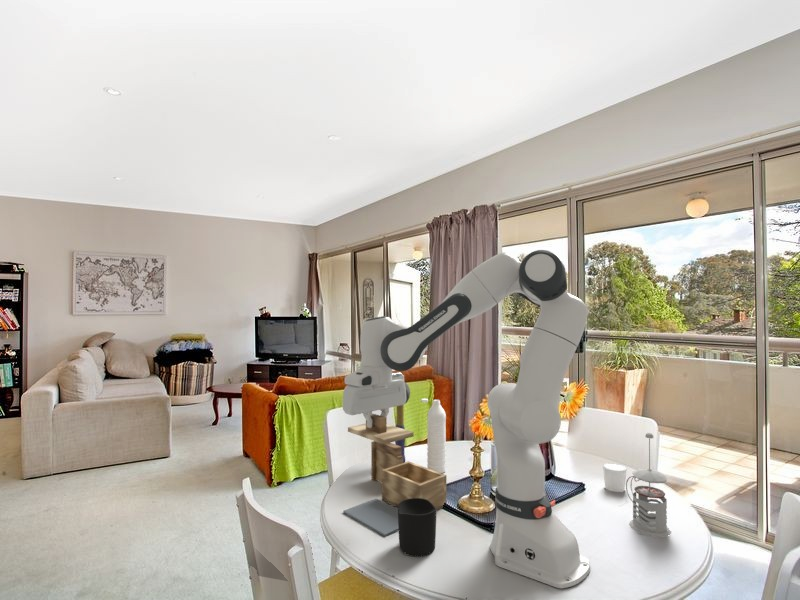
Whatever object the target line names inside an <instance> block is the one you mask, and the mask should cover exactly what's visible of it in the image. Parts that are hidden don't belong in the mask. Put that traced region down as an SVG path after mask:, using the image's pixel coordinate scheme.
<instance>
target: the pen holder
mask: <svg viewBox="0 0 800 600" xmlns="http://www.w3.org/2000/svg"><path fill="white" fill-rule="evenodd" d="M397 509H398V528H399V531H398V544H399V549H400V550H401V552H403V554H405V555H407V556H409V557H417V558H418V557H419V558H420V557H426V556H429V555H430V554H431V553H433V551H435V547H436V538H437V537H436V535H437V512H438V510H437V508H435V507H434V505H433V504H432V503H431V502H430V501H428V500H426V499H423V498H410V499H406V500H403V501H401V502H400V503H399V505H398V507H397Z"/></svg>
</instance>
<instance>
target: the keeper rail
mask: <svg viewBox="0 0 800 600" xmlns="http://www.w3.org/2000/svg"><path fill="white" fill-rule="evenodd" d="M370 443H371V456H370V457H371V465H370V466H371V471H370V472H371V481H373V482H375V481H378V482H379V483H382V470H383V469H386V468H390V467H393V466H396V465H399V464H402V463H403V456H402V455H398V456H394V455H391V454H388V453H386V452H383V451H380V450H378V449H376V441H373V440H372V441H371V442H370Z"/></svg>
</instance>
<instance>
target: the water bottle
mask: <svg viewBox="0 0 800 600" xmlns="http://www.w3.org/2000/svg"><path fill="white" fill-rule="evenodd" d="M421 403H429V399H428V398H421ZM426 419H427V423H426V425H427V427H426V428H427V435H426V436H427V437H426V438H427V439H426V440H427V442H426V443H427V445H426V446H427V448H426V449H427V454H426V455H427V459H426V462H427V464H426V466H427V467H426V468H428V469H431V470H433V471H436V472H439V473H441V474H444V473H445V472H446V470H447V463H446V462H447V461H446V460H447V459H446V457H447V455H446V454H447V453H446V451H447V449H446V447H447V445H446V444H447V443H446V440H447V436H446V435H447V434H446V433H447V431H446V425H447V424H446V422H447V421H446V419H447V415H446V411H445V409H444V408H443V407H442V404H441V401H440V399H433V401H432V405H431V406H430V407H429V409H428V410H427V418H426Z"/></svg>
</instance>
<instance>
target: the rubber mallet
mask: <svg viewBox="0 0 800 600" xmlns="http://www.w3.org/2000/svg"><path fill="white" fill-rule="evenodd" d="M404 383H405V388H406V403H405V404H404V405H406V404H407V403H408V401H409V399H410V397H411V389H410V387H409V385H408V384H407V383H406V381H404ZM404 405H400V406H396V425H395V427H398V428H402V429H405V430H406V428H405V422H404V421H405V419H404V418H405V417H404V415H405V414H404V411H405V410H404ZM394 443H395V445H398V446H401V455H402V456H403V463H405V462H406V455H405V443H406V439H402V440H398V441H395V442H394Z"/></svg>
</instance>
